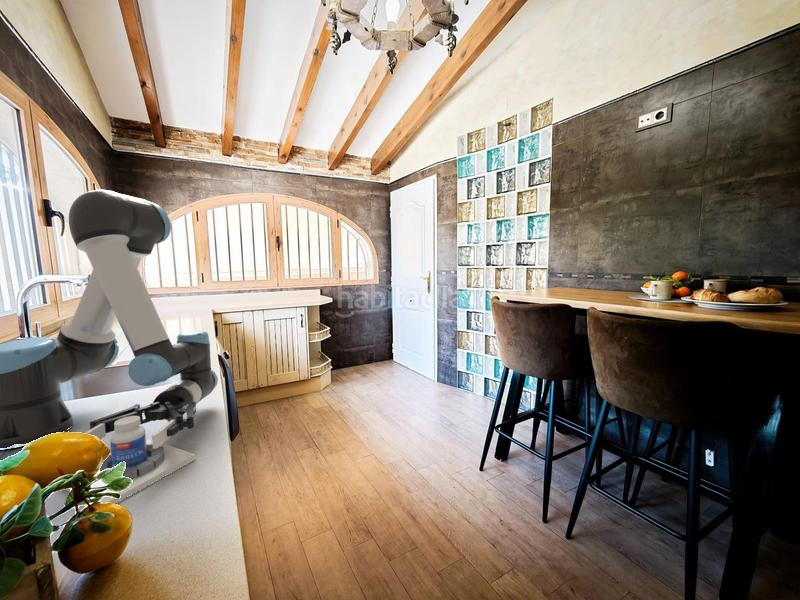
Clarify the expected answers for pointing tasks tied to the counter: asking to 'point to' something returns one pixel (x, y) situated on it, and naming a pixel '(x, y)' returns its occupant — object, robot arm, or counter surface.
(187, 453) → the collar plate
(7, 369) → the robot arm
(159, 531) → the counter surface
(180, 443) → the counter surface
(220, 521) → the counter surface
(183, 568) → the counter surface
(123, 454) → the pill bottle
